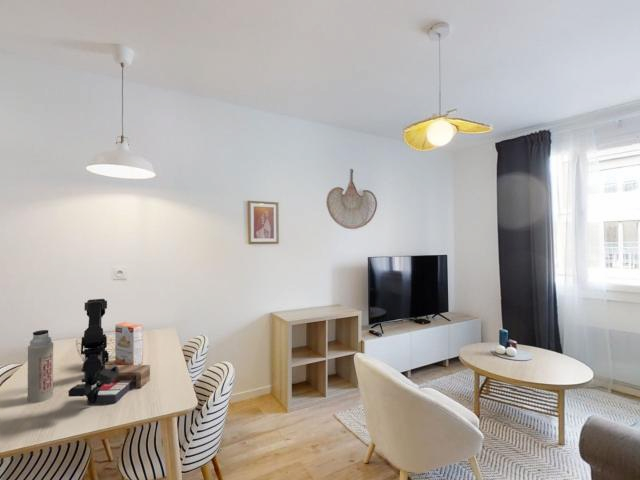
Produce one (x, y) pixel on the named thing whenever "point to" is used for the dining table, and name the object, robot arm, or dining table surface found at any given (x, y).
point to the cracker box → (129, 344)
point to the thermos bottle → (40, 367)
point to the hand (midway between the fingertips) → (92, 403)
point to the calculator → (112, 392)
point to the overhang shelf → (133, 373)
